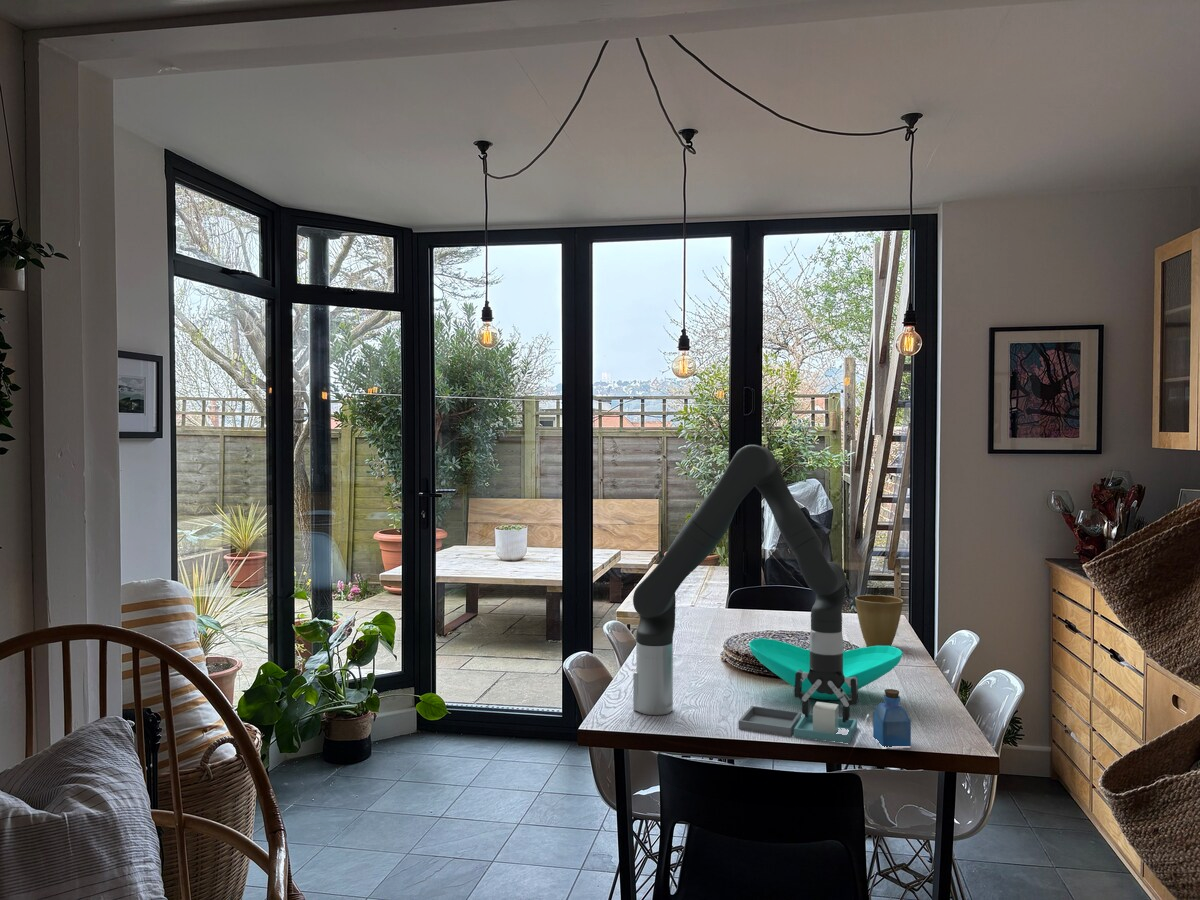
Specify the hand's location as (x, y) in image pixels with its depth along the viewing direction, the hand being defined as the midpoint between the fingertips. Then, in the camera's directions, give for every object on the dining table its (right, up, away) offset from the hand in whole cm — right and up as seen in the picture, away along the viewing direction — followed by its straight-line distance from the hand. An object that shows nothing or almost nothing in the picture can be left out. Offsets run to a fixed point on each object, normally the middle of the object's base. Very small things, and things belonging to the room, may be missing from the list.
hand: (825, 718), depth 197 cm
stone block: (0, -3, 0) cm, 3 cm away
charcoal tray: (-12, -4, +5) cm, 13 cm away
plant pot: (+39, -2, +81) cm, 90 cm away
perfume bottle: (+13, -4, -6) cm, 15 cm away
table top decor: (+7, -3, +29) cm, 30 cm away
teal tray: (0, -4, 0) cm, 4 cm away
